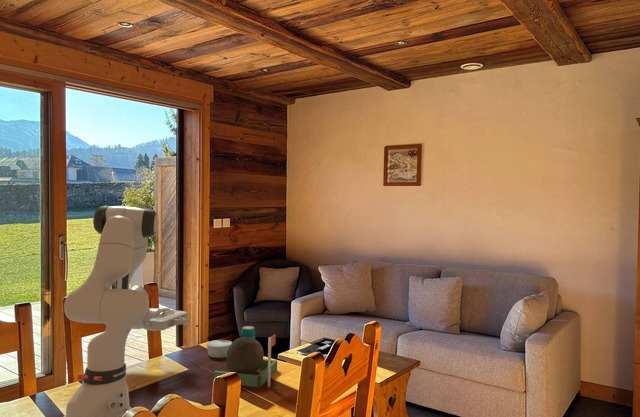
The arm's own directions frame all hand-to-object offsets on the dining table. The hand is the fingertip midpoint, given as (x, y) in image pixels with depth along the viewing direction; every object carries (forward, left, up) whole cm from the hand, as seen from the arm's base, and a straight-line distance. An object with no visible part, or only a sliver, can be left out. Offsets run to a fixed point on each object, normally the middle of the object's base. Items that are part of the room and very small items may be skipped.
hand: (187, 321), depth 200 cm
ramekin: (+22, -4, -20) cm, 30 cm away
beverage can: (+15, -20, -20) cm, 32 cm away
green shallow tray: (0, -27, -19) cm, 33 cm away
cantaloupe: (0, -25, -20) cm, 32 cm away
